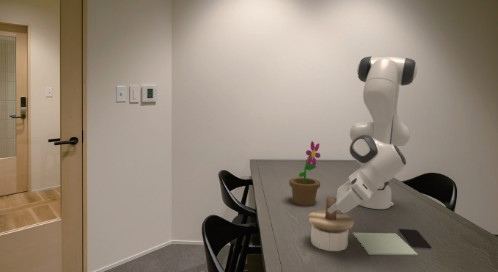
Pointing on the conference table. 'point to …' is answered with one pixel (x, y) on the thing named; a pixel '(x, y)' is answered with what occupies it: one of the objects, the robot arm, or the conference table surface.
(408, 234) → the smartphone
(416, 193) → the conference table surface
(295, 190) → the flowerpot
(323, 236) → the bowl
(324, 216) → the lid
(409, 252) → the mat
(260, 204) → the conference table surface
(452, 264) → the conference table surface
